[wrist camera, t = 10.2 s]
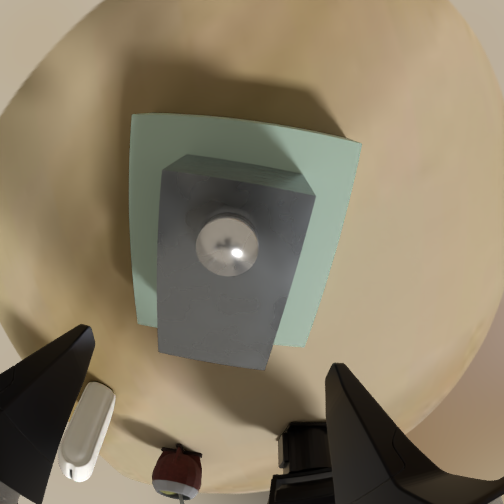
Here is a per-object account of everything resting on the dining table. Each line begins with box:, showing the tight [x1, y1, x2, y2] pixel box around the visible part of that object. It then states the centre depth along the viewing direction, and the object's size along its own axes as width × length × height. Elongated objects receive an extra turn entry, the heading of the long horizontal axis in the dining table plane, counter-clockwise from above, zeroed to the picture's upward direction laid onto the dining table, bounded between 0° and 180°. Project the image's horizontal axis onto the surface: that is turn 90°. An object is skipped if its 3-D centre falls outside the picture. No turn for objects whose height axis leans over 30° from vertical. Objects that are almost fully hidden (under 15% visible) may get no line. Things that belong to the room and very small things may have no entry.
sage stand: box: [129, 113, 362, 347], centre depth 18 cm, size 12×14×3 cm
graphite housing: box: [157, 154, 316, 370], centre depth 15 cm, size 10×6×5 cm, turn 170°
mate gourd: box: [152, 443, 202, 504], centre depth 29 cm, size 8×8×15 cm
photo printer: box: [58, 382, 115, 482], centre depth 25 cm, size 10×4×12 cm, turn 152°
